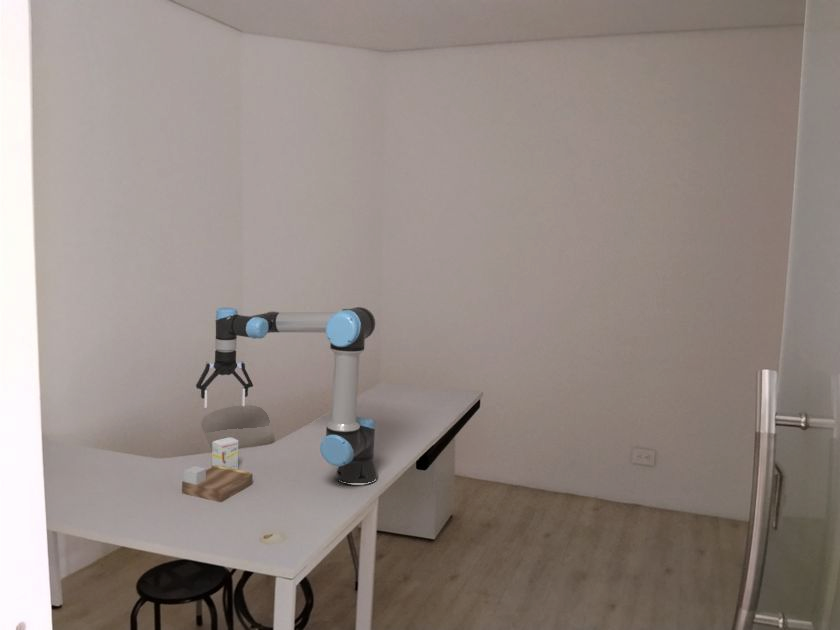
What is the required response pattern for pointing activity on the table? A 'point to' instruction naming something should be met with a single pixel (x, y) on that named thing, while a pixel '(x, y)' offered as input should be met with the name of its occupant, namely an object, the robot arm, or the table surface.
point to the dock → (219, 484)
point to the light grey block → (195, 475)
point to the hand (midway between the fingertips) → (224, 406)
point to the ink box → (225, 453)
